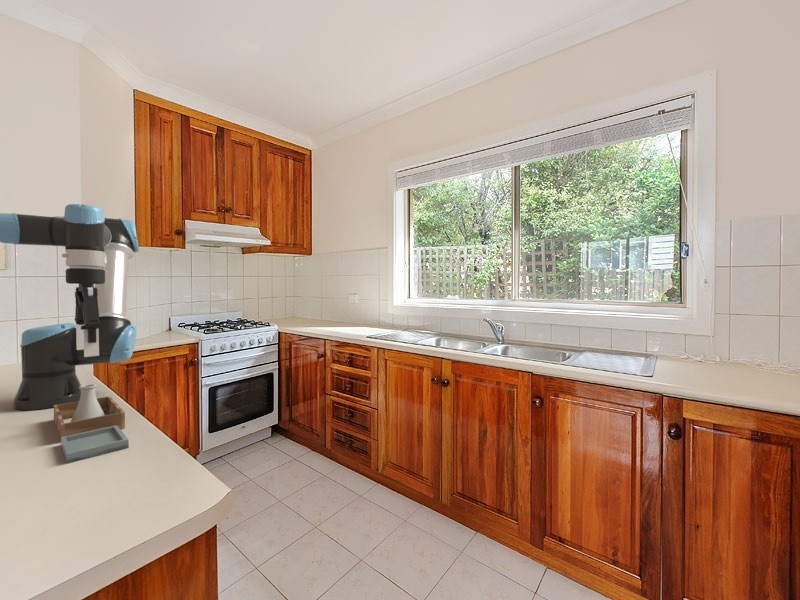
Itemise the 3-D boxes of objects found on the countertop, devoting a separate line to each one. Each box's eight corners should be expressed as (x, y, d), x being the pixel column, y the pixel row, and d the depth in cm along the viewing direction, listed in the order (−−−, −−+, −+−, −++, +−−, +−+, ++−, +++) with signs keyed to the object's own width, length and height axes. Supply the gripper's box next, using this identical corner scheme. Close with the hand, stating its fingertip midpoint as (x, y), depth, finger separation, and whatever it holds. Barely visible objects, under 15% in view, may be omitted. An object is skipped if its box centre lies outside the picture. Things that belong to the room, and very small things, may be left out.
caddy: (54, 420, 96) (53, 405, 96) (110, 410, 104) (109, 396, 104) (61, 442, 83) (61, 424, 83) (125, 428, 91) (124, 412, 91)
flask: (85, 431, 89) (84, 390, 89) (61, 428, 91) (60, 388, 90) (114, 420, 96) (113, 382, 96) (91, 418, 98) (90, 381, 97)
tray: (60, 445, 81) (60, 437, 81) (117, 432, 88) (117, 425, 88) (66, 463, 73) (66, 454, 73) (128, 447, 80) (128, 439, 80)
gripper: (60, 268, 98) (62, 348, 99) (71, 265, 81) (73, 361, 82) (96, 270, 103) (97, 345, 104) (114, 267, 86) (116, 357, 87)
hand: (87, 352), depth 93 cm, fingers open, 13 cm apart
